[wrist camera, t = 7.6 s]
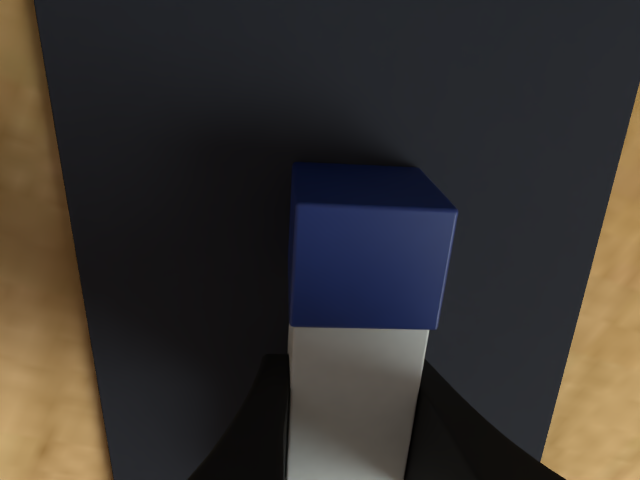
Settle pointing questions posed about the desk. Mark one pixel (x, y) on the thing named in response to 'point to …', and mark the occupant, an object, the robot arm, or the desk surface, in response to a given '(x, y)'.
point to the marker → (360, 314)
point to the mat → (326, 147)
